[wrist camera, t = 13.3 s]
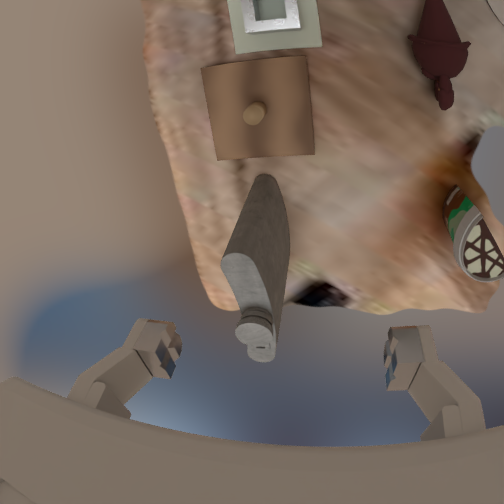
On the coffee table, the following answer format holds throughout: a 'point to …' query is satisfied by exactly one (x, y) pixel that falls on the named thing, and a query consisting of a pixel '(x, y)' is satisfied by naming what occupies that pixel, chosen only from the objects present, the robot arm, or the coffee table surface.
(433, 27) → the icecream
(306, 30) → the pad
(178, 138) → the coffee table surface
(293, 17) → the collar
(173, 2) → the coffee table surface
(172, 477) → the robot arm
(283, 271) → the hip flask
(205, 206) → the coffee table surface
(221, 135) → the peg stand
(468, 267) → the food container
